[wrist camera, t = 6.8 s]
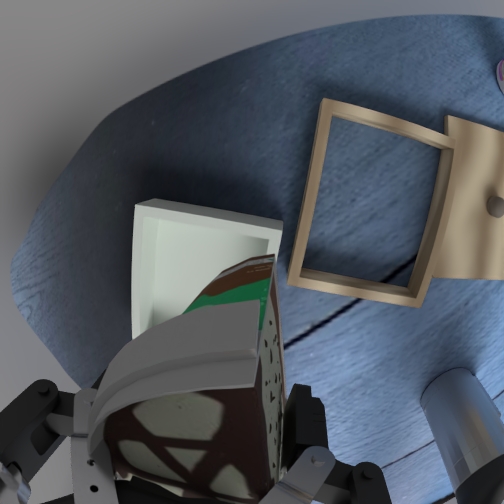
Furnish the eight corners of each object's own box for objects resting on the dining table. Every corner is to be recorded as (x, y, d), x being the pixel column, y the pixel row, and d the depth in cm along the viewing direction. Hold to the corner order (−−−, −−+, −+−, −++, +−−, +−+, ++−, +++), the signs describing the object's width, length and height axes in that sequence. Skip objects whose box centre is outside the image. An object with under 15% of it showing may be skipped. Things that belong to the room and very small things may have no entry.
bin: (283, 220, 31) (282, 230, 26) (254, 356, 36) (250, 380, 32) (154, 198, 32) (135, 204, 27) (148, 330, 37) (133, 350, 32)
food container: (148, 234, 15) (-1, 337, 5) (272, 222, 14) (249, 358, 4) (195, 413, 18) (153, 539, 9) (288, 414, 17) (283, 555, 8)
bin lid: (529, 144, 24) (540, 144, 22) (512, 277, 29) (521, 283, 27) (444, 116, 25) (453, 113, 23) (428, 274, 30) (436, 281, 28)
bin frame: (449, 143, 26) (463, 142, 23) (411, 296, 31) (420, 308, 29) (319, 103, 27) (323, 97, 24) (287, 273, 32) (286, 284, 29)
